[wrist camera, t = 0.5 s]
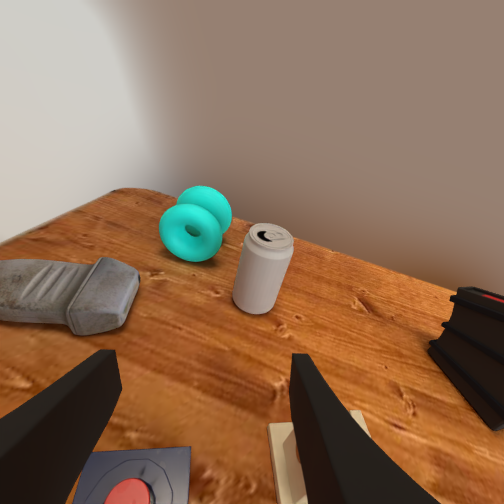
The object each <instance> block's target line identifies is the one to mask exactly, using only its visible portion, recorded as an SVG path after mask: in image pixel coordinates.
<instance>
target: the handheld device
mask: <svg viewBox="0 0 504 504" xmlns="http://www.w3.org/2000/svg"><path fill="white" fill-rule="evenodd" d="M139 284H140V275H139V272H138V271H137V270H136V269H134V268H133V267H131V266H129V265H127V264H125V263H122V262H120V261H118V260H115V259H112V258H108V257H100V258H99V259H98V261H97V262H96V263H95V264H93V265H86V264H78V263H69V262H60V261H51V260H39V259H13V260H1V261H0V320H4V321H13V322H32V323H57V324H65V325H67V326H68V327H69V328H70V329H71V331H72V332H73V334H76V335H91V334H96V333H101V332H105V331H109V330H112V329H115V328H118V327H120V326H121V325H122V324H123V323H124V321H125V319H126V317H127V314H128V312H129V309H130V307H131V304H132V302H133V300H134V297H135V295H136V293H137V290H138V287H139Z"/></svg>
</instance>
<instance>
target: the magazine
mask: <svg viewBox="0 0 504 504" xmlns="http://www.w3.org/2000/svg"><path fill="white" fill-rule="evenodd" d="M450 301H451V302H454V308H453V312H452V315H451V317H450V320H449V322H443V323H442V324H441V326H442V327H444V328H445V330H444V331H443V333H442V334H441V336H440V337H439V338H438V339H436V340H431V341H430V342H429V344H430V345H431V347H430V348H429V349H428V353H429V354H430V355H431V357H432V358H433V359H434V360H435V362H436V363H437V364H438V365H439V366H440V368H441V369H442V370H443V371H444V372H445V374H446V375H447V376H448V377H449V378H450V380H451V381H452V382H453V383H454V385H455V386H456V387H457V388H458V389H459V391H460V392H461V393H462V394H463V395H464V397H465V398H466V399H467V400H468V402H469V403H470V404H471V405H472V406H473V408H474V409H475V410H476V411H477V412H478V414H479V415H480V416H481V417H482V419H483V420H484V421H485V422H486V423H487V425H488V426H489V427H490V428H491V429H492V430H493V431H497V430H500V429H503V428H504V296H501V295H499V294H495V293H492V292H489V291H486V290H483V289H480V288H476V287H459V288H458V290H457V294H456V295H451V296H450Z"/></svg>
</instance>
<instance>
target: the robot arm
mask: <svg viewBox="0 0 504 504" xmlns="http://www.w3.org/2000/svg"><path fill="white" fill-rule="evenodd" d="M121 391H122V384H121V379H120V374H119V368H118V363H117V358H116V352H115V350H99V351H97V352H96V353H94V354H93V355H91V356H90V357H89V358H87V359H86V360H84V361H83V362H82V363H80V364H79V365H78V366H76V367H75V368H74V369H72V370H71V371H69V372H68V373H67V374H65V375H64V376H63V377H61V378H60V379H58V380H57V381H56V382H54V383H53V384H52V385H50V386H49V387H47V388H46V389H45V390H43V391H42V392H40V393H39V394H37V395H36V396H34V397H33V398H31V399H30V400H28V401H27V402H25V403H24V404H22V405H21V406H19V407H18V408H16V409H15V410H13V411H12V412H10V413H9V414H7V415H6V416H4V417H2V418H1V419H0V504H65V503H66V500H67V498H68V496H69V494H70V492H71V490H72V488H73V486H74V484H75V482H76V480H77V478H78V476H79V474H80V472H81V471H82V469H83V467H84V465H85V463H86V462H87V460H88V458H89V456H90V454H91V452H92V451H93V449H94V447H95V445H96V443H97V441H98V440H99V438H100V436H101V434H102V432H103V430H104V429H105V427H106V425H107V423H108V421H109V419H110V417H111V415H112V413H113V411H114V408H115V406H116V404H117V401H118V399H119V396H120V393H121ZM289 397H290V408H291V417H292V423H293V428H294V433H295V438H296V443H297V448H298V453H299V458H300V463H301V468H302V473H303V478H304V483H305V488H306V494H307V501H308V504H441V503H439V502H438V501H437V500H436V499H435V498H434V497H432V496H431V495H430V494H429V493H428V492H426V491H425V490H424V489H423V488H422V487H421V486H419V485H418V484H417V483H416V482H415V481H414V480H413V479H412V478H411V477H410V476H409V475H408V474H407V473H406V472H404V471H403V470H402V469H401V468H400V467H399V466H398V465H397V464H396V463H395V462H394V461H393V460H392V459H391V458H390V457H389V456H388V455H387V454H386V453H385V452H384V451H383V450H382V449H381V448H380V447H379V446H378V445H377V444H376V443H375V442H374V441H373V440H372V439H371V438H370V436H369V435H368V434H367V433H366V432H365V431H364V430H363V429H362V428H361V426H360V425H359V424H358V423H357V422H356V421H355V419H354V418H353V417H352V416H351V414H350V413H349V412H348V411H347V410H346V408H345V407H344V406H343V404H342V403H341V402H340V401H339V399H338V398H337V396H336V395H335V394H334V392H333V391H332V390H331V388H330V387H329V385H328V384H327V383H326V381H325V380H324V378H323V377H322V375H321V374H320V372H319V370H318V369H317V367H316V366H315V364H314V362H313V361H312V359H311V357H310V356H309V355H308V354H296V353H292V363H291V375H290V386H289Z"/></svg>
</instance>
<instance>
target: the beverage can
mask: <svg viewBox="0 0 504 504" xmlns="http://www.w3.org/2000/svg"><path fill="white" fill-rule="evenodd" d="M293 241H294V240H293V237H292V235H291V234H290V233H289V232H288V231H287V230H285V229H284V228H282V227H279V226H277V225H274V224H268V223H260V224H256V225H254V226H252V227H251V228H250V231H249V233H248V234H247V235H246V236H245V239H244V244H243V248H242V253H241V257H240V261H239V266H238V270H237V275H236V279H235V284H234V288H233V293H232V297H233V300H234V302H235V304H236V305H237V306H238V307H239V308H240V309H242V310H243V311H245V312H248V313H252V314H263V313H266V312H268V311H269V310H271V309H272V307H273V306H274V303H275V300H276V298H277V295H278V292H279V289H280V287H281V284H282V281H283V278H284V276H285V273H286V270H287V268H288V265H289V262H290V259H291V257H292V254H293V250H294V248H293Z"/></svg>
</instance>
